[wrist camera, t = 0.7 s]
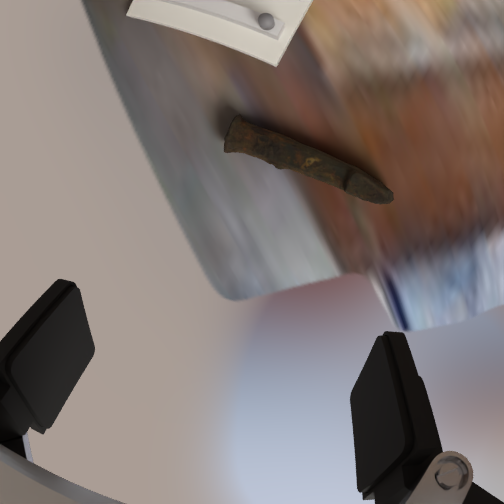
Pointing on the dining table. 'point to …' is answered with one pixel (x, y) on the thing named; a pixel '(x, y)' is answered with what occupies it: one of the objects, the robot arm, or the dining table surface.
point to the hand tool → (303, 160)
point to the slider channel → (230, 22)
